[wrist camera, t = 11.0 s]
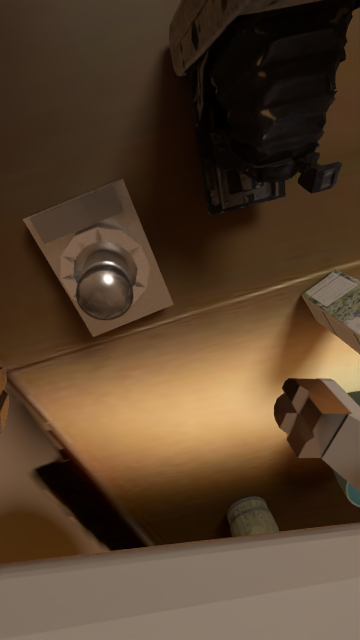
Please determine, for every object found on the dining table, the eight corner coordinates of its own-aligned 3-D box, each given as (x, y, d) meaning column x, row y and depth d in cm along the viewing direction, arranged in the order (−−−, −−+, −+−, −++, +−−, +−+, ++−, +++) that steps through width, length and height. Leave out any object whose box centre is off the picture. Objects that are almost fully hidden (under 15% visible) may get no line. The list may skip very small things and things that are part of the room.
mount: (30, 214, 31) (16, 222, 26) (122, 177, 31) (123, 179, 26) (94, 325, 37) (92, 346, 33) (169, 294, 37) (176, 311, 33)
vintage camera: (192, 211, 34) (281, 272, 17) (161, 28, 26) (269, -202, 9) (272, 190, 35) (433, 228, 18) (266, 7, 27) (546, -241, 10)
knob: (88, 242, 30) (84, 261, 25) (136, 258, 32) (141, 279, 26) (76, 286, 32) (69, 312, 27) (121, 299, 33) (123, 326, 28)
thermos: (228, 531, 65) (328, 852, 35) (223, 499, 60) (336, 850, 29) (267, 518, 66) (397, 822, 36) (265, 487, 60) (418, 816, 30)
